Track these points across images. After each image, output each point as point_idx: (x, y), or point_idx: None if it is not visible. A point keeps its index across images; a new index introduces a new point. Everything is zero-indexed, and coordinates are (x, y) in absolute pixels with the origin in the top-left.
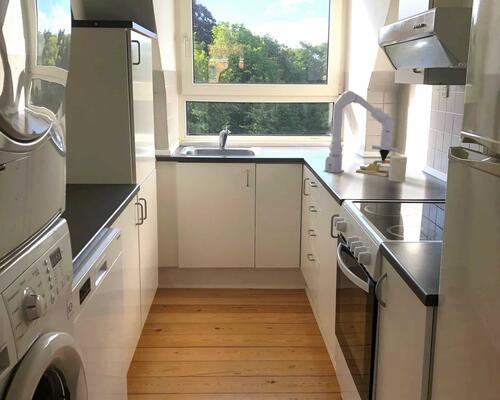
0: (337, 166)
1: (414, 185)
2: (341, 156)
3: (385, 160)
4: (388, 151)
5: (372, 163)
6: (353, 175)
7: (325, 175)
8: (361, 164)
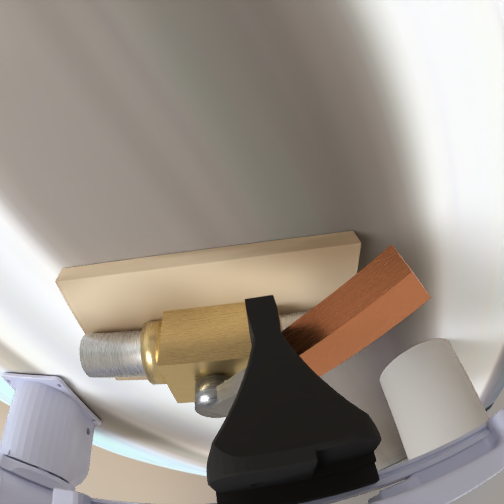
0: (79, 435)
1: (472, 370)
2: (61, 473)
3: (316, 371)
4: (368, 458)
5: (171, 371)
6: (191, 419)
7: (135, 453)
8: (92, 376)
